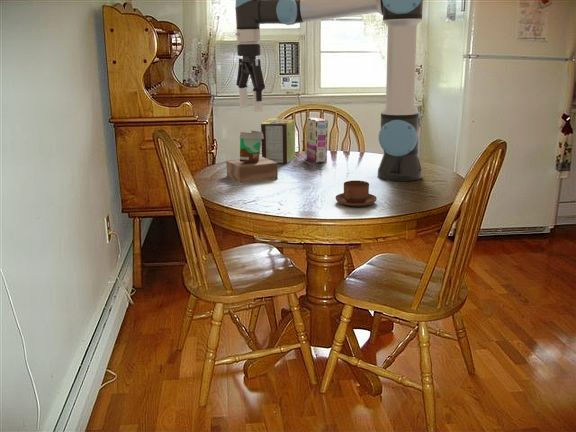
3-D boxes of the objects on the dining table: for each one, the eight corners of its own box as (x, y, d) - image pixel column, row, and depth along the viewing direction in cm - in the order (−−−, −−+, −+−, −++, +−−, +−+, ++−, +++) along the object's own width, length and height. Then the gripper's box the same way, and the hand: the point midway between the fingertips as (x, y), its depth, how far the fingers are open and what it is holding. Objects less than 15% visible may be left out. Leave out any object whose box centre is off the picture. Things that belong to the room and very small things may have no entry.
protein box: (295, 156, 236) (295, 118, 232) (287, 164, 222) (287, 123, 217) (270, 155, 238) (270, 117, 234) (261, 163, 224) (260, 123, 219)
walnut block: (277, 179, 199) (277, 162, 197) (240, 184, 193) (239, 167, 191) (262, 173, 209) (262, 156, 207) (227, 177, 203) (226, 160, 201)
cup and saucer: (373, 210, 161) (374, 189, 160) (331, 208, 164) (332, 187, 163) (378, 199, 172) (379, 179, 171) (339, 197, 176) (339, 177, 174)
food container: (255, 163, 192) (257, 133, 190) (238, 161, 193) (239, 132, 191) (266, 160, 203) (268, 131, 201) (250, 158, 205) (251, 130, 203)
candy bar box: (327, 162, 224) (328, 120, 219) (315, 163, 222) (315, 121, 218) (317, 157, 234) (318, 116, 229) (306, 158, 233) (306, 117, 228)
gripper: (225, 43, 196) (228, 106, 202) (251, 43, 174) (253, 113, 181) (246, 43, 199) (248, 105, 205) (274, 43, 177) (275, 112, 184)
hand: (250, 109), depth 193 cm, fingers open, 13 cm apart
